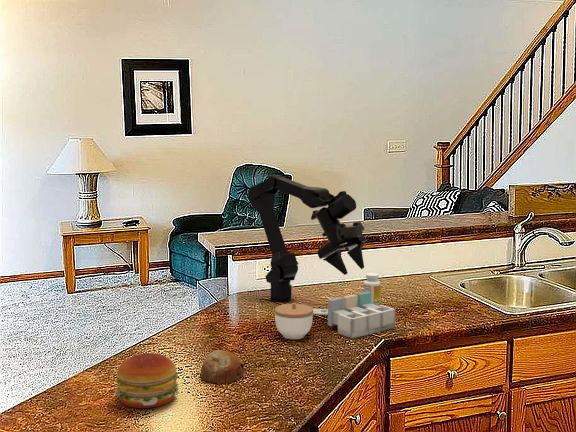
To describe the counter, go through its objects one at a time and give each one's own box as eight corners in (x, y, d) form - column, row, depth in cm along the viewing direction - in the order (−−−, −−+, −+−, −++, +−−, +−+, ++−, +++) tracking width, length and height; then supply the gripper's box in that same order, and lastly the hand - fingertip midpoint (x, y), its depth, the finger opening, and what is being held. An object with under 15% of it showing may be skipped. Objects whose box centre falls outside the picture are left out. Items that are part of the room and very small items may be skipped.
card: (302, 313, 218) (302, 312, 218) (304, 309, 223) (304, 307, 223) (328, 315, 217) (328, 313, 217) (329, 310, 222) (329, 308, 222)
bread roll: (209, 382, 172) (194, 354, 171) (247, 364, 173) (233, 336, 171) (208, 399, 163) (192, 369, 161) (248, 379, 163) (233, 349, 161)
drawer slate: (327, 325, 204) (328, 299, 202) (339, 322, 206) (339, 297, 205) (343, 330, 198) (344, 304, 197) (355, 328, 201) (355, 302, 200)
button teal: (356, 318, 210) (356, 293, 209) (367, 315, 213) (367, 291, 212) (372, 323, 205) (373, 298, 204) (383, 321, 208) (383, 296, 207)
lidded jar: (317, 332, 200) (318, 300, 199) (306, 343, 190) (306, 310, 189) (282, 328, 204) (282, 296, 202) (268, 339, 194) (269, 306, 192)
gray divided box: (337, 333, 199) (338, 314, 199) (380, 322, 210) (380, 304, 209) (352, 338, 195) (352, 319, 194) (395, 327, 205) (395, 309, 204)
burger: (111, 414, 146) (110, 368, 144) (119, 389, 159) (117, 346, 158) (178, 411, 147) (177, 365, 146) (179, 386, 161) (178, 344, 159)
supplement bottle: (379, 301, 233) (380, 272, 231) (380, 305, 228) (381, 276, 226) (363, 300, 233) (363, 272, 232) (363, 305, 228) (364, 275, 227)
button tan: (342, 321, 207) (342, 296, 206) (353, 319, 210) (353, 294, 209) (358, 327, 202) (358, 301, 201) (369, 324, 204) (370, 299, 203)
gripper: (332, 217, 204) (357, 265, 201) (366, 209, 219) (390, 254, 215) (306, 234, 211) (330, 281, 207) (341, 226, 225) (364, 269, 222)
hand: (354, 271), depth 213 cm, fingers open, 9 cm apart
